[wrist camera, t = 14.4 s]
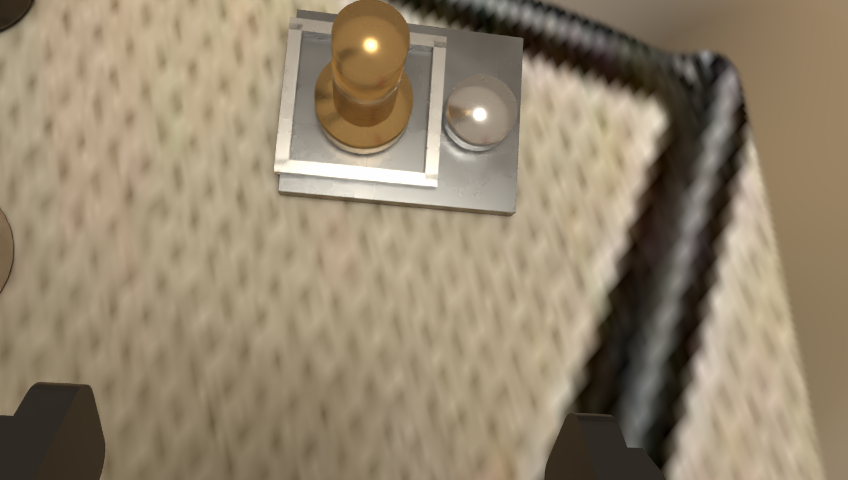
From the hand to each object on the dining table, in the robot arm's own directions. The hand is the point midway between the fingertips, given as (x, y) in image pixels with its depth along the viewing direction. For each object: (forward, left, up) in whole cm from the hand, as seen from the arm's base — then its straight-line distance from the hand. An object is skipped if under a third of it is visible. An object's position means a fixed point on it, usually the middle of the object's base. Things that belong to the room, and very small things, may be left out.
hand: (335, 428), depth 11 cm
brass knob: (0, +16, -27) cm, 32 cm away
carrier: (+3, +16, -29) cm, 33 cm away
